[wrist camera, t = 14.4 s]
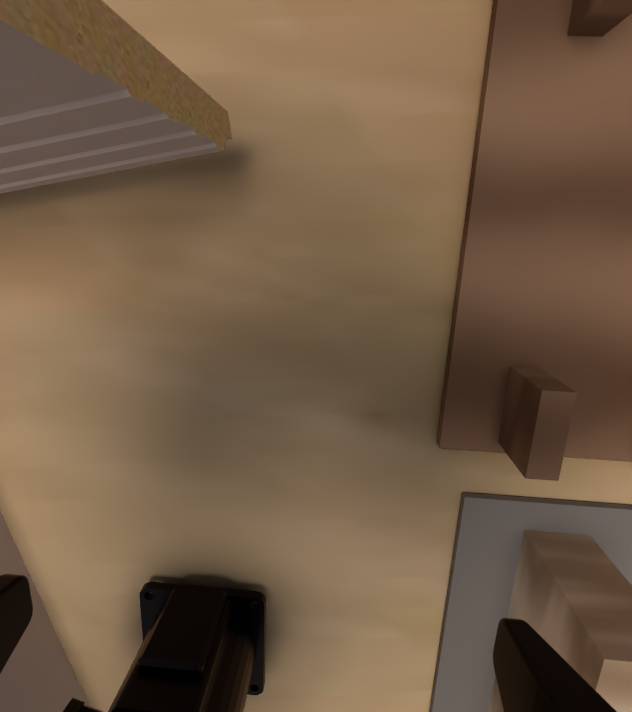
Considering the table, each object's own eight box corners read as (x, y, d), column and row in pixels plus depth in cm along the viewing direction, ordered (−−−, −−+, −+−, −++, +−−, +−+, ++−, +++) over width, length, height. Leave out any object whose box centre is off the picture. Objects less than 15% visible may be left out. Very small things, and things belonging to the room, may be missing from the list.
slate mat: (583, 767, 24) (587, 775, 24) (423, 750, 25) (424, 758, 25) (659, 507, 20) (665, 512, 20) (462, 492, 20) (464, 496, 20)
